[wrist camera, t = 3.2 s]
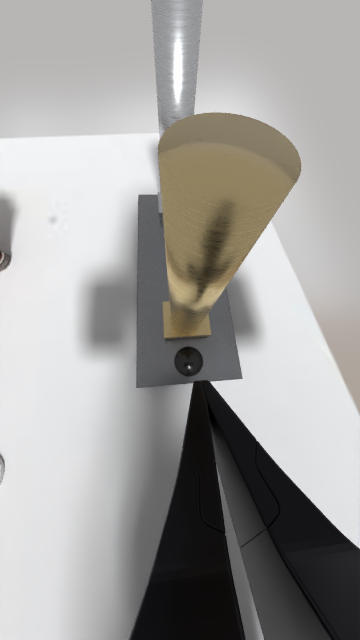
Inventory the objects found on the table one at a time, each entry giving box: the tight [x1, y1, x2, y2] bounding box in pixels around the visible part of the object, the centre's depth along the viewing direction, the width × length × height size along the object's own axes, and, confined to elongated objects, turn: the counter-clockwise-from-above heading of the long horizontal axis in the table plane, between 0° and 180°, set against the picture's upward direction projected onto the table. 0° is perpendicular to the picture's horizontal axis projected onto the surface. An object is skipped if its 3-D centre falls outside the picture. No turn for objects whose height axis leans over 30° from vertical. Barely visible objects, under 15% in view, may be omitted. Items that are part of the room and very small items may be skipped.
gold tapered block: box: [158, 113, 301, 339], centre depth 9 cm, size 4×4×12 cm
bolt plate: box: [136, 0, 243, 388], centre depth 12 cm, size 25×10×14 cm, turn 4°
